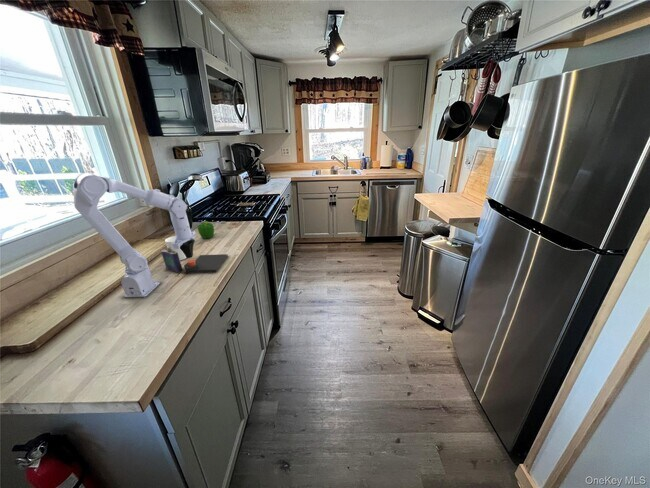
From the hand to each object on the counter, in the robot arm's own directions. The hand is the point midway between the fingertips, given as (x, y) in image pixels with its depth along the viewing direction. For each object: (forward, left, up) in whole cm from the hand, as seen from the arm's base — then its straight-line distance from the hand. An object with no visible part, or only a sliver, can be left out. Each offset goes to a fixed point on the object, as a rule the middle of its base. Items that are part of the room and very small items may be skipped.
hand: (189, 257), depth 110 cm
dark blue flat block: (+1, +9, -7) cm, 11 cm away
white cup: (+13, +13, -7) cm, 19 cm away
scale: (+5, -4, -6) cm, 9 cm away
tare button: (0, 0, -4) cm, 4 cm away
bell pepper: (+39, +10, -7) cm, 41 cm away
